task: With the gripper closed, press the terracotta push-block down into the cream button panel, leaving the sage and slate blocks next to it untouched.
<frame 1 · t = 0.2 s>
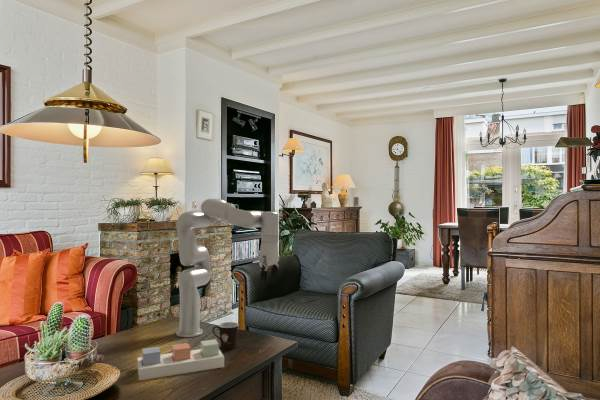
hand: (269, 278, 181), 31 cm above the table, tool pointing down, fingers open, 9 cm apart
terracotta button: (181, 352, 158), point 6 cm above the table, slide at 0.0 cm
rabbit figure: (83, 362, 163), on the table
coffee mug: (226, 347, 182), on the table
button panel: (181, 367, 158), on the table
slate button: (151, 356, 154), point 6 cm above the table, slide at 0.0 cm
sage button: (209, 348, 163), point 6 cm above the table, slide at 0.0 cm
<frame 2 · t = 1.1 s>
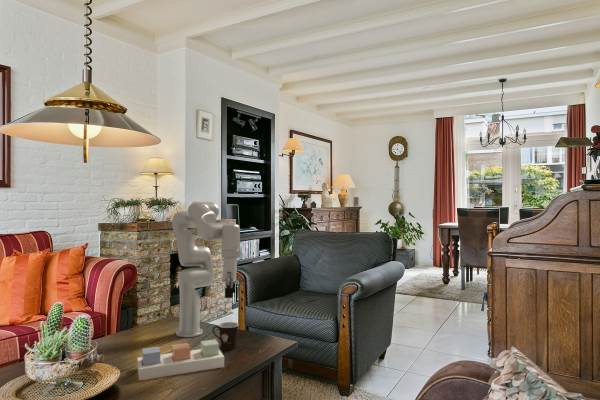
hand: (230, 295, 170), 26 cm above the table, tool pointing down, fingers open, 9 cm apart
nothing on the table moved.
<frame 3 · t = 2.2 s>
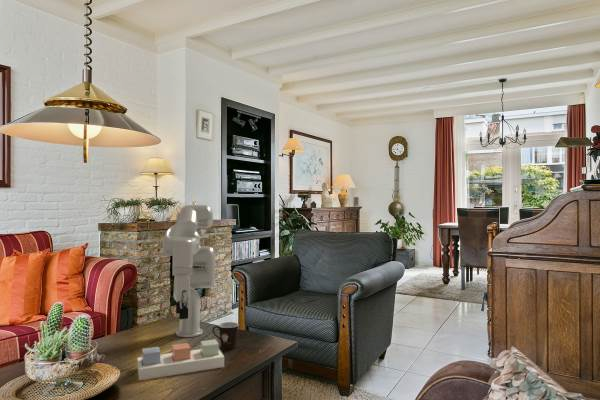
hand: (181, 315, 159), 20 cm above the table, tool pointing down, fingers open, 8 cm apart
nothing on the table moved.
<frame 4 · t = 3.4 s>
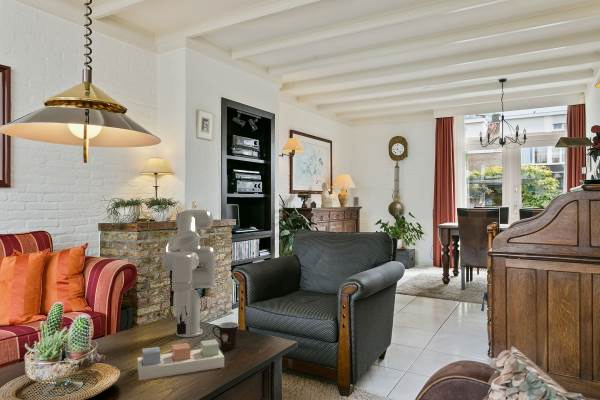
hand: (181, 333, 158), 13 cm above the table, tool pointing down, fingers closed
nothing on the table moved.
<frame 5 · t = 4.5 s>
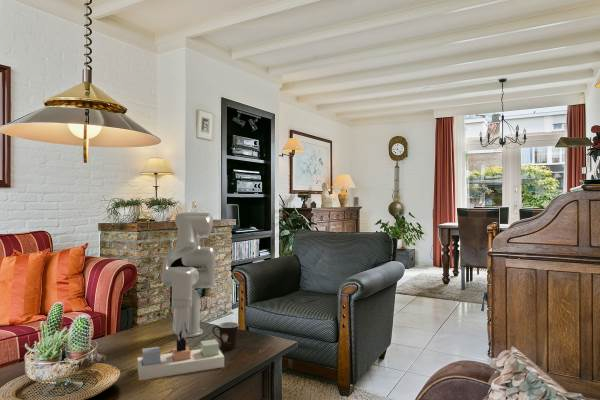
hand: (181, 349, 158), 7 cm above the table, tool pointing down, fingers closed
terracotta button: (181, 356, 158), point 4 cm above the table, slide at 1.3 cm, touching gripper
everything else where it was.
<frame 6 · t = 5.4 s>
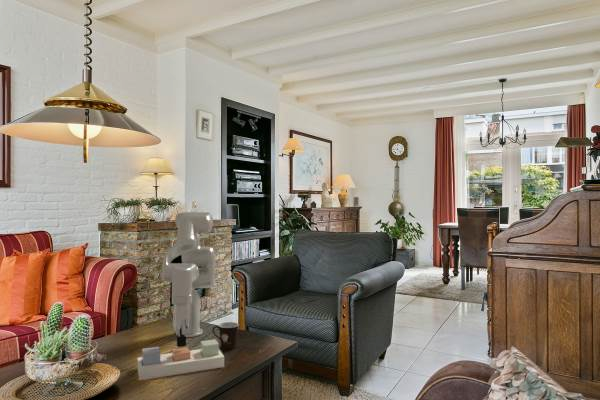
hand: (181, 345, 159), 8 cm above the table, tool pointing down, fingers closed
terracotta button: (181, 357, 158), point 4 cm above the table, slide at 1.7 cm
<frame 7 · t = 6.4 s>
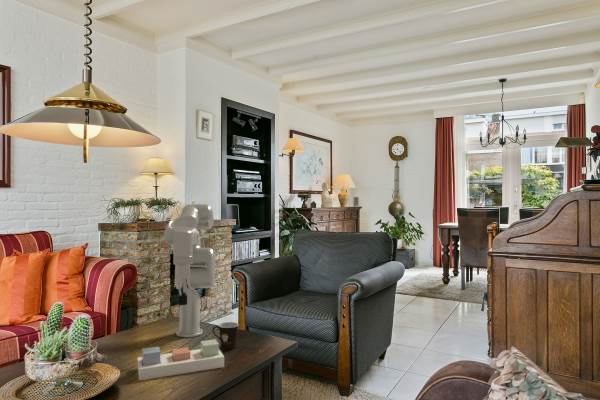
hand: (182, 304, 167), 22 cm above the table, tool pointing down, fingers closed
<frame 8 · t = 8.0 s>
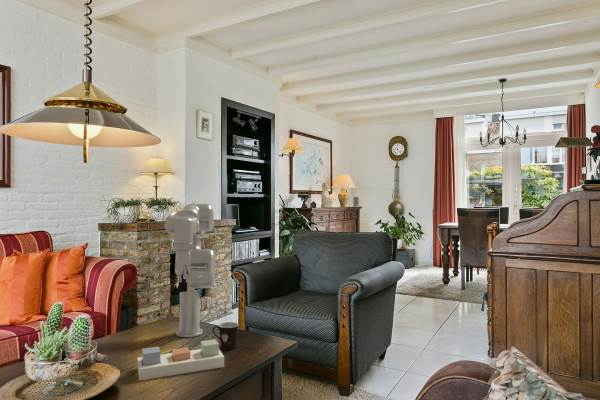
hand: (182, 291, 170), 27 cm above the table, tool pointing down, fingers closed
at the end: terracotta button slide at 1.7 cm; sage button slide at 0.0 cm; slate button slide at 0.0 cm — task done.
